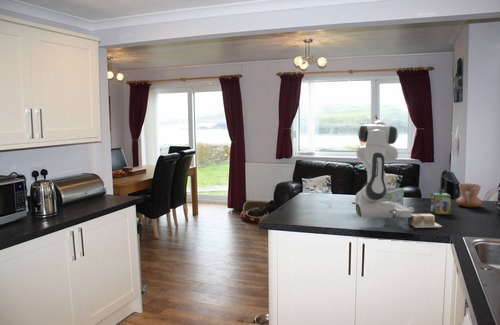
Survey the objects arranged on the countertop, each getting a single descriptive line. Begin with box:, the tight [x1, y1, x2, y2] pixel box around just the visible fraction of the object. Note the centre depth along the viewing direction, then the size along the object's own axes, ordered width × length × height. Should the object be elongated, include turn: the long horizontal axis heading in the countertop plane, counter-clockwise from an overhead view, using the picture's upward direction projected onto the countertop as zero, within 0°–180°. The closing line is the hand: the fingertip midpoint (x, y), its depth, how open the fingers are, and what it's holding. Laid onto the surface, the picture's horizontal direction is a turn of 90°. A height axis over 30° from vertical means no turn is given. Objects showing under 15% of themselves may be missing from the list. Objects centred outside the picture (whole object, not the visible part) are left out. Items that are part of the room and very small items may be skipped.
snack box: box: [381, 187, 405, 220], centre depth 236 cm, size 21×6×15 cm, turn 138°
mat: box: [411, 222, 443, 229], centre depth 213 cm, size 14×9×1 cm, turn 91°
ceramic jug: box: [456, 182, 483, 209], centre depth 257 cm, size 18×14×14 cm
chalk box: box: [430, 187, 452, 215], centre depth 240 cm, size 9×9×15 cm
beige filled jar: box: [407, 213, 436, 226], centre depth 213 cm, size 5×5×12 cm
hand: (413, 209), depth 212 cm, fingers closed
